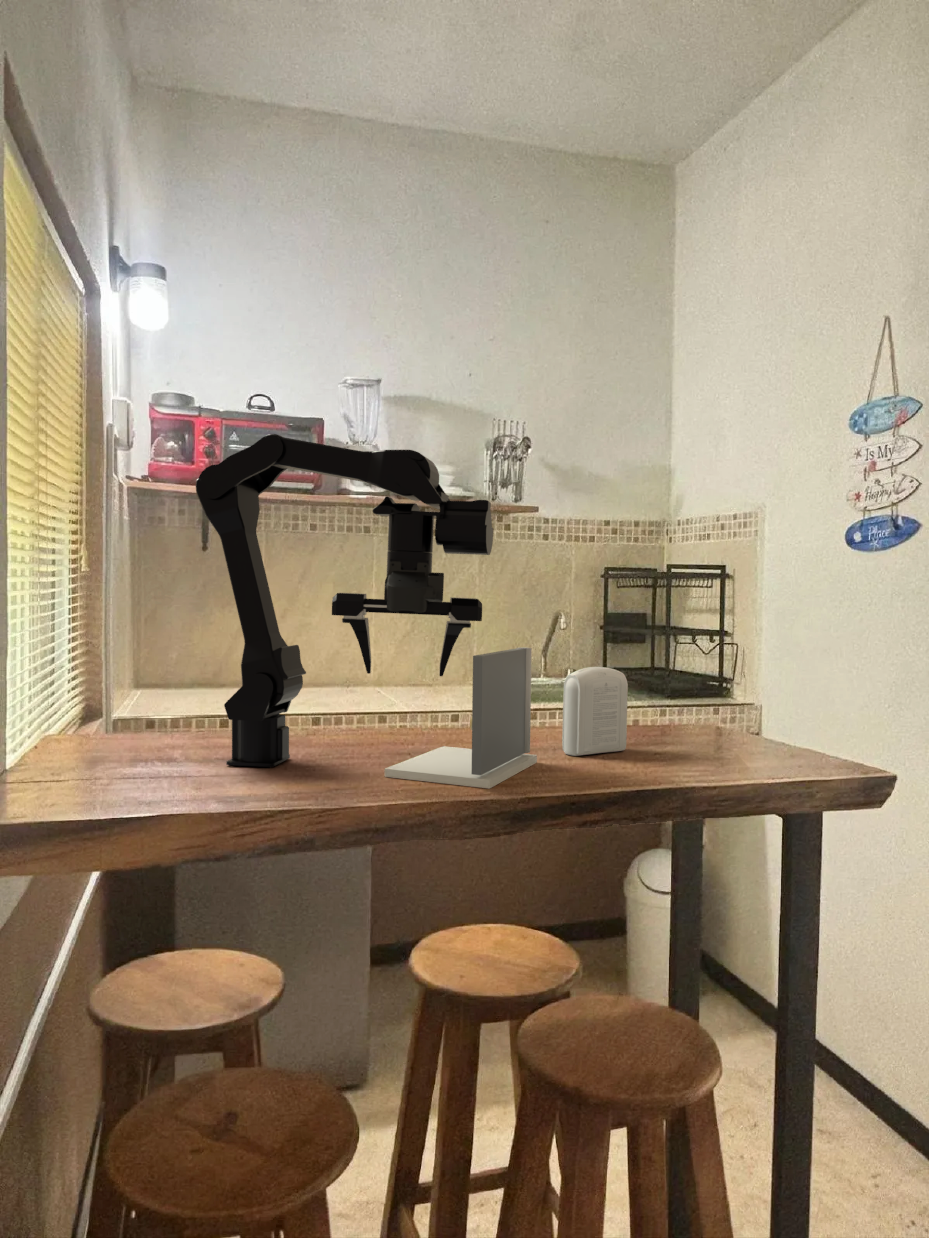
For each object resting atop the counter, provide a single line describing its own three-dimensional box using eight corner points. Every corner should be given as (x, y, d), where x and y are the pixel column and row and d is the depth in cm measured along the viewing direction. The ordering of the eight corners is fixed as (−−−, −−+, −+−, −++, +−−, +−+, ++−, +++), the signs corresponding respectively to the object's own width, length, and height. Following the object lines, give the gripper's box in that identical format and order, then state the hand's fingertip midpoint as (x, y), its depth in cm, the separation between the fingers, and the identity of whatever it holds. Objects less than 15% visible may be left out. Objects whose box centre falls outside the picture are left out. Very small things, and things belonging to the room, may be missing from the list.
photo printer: (610, 746, 128) (612, 664, 128) (631, 751, 124) (632, 666, 124) (557, 753, 122) (558, 667, 122) (577, 758, 119) (578, 669, 118)
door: (459, 772, 101) (460, 655, 101) (509, 749, 117) (511, 646, 116) (484, 775, 100) (485, 656, 99) (532, 751, 115) (533, 647, 115)
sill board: (384, 776, 106) (384, 768, 106) (443, 753, 121) (443, 746, 121) (489, 788, 100) (489, 779, 100) (536, 762, 115) (536, 754, 115)
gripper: (329, 546, 100) (324, 679, 101) (488, 553, 101) (482, 684, 102) (338, 550, 111) (334, 669, 112) (481, 556, 112) (476, 674, 113)
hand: (405, 674), depth 109 cm, fingers open, 9 cm apart
